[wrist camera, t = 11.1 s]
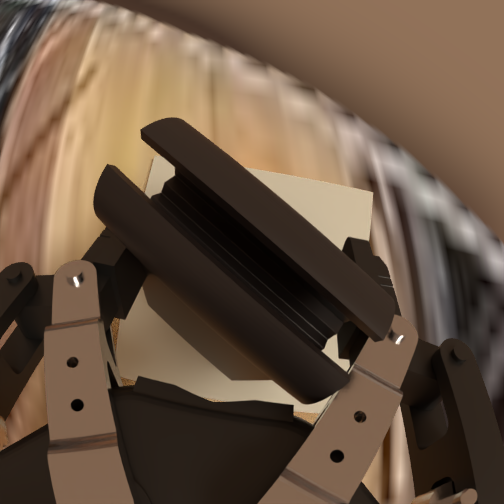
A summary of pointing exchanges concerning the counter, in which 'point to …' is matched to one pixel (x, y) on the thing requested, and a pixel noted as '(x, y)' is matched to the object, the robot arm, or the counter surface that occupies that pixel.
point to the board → (190, 360)
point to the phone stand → (240, 267)
